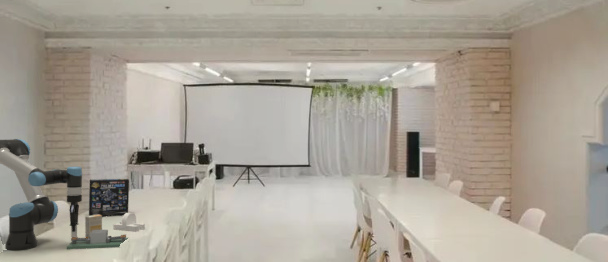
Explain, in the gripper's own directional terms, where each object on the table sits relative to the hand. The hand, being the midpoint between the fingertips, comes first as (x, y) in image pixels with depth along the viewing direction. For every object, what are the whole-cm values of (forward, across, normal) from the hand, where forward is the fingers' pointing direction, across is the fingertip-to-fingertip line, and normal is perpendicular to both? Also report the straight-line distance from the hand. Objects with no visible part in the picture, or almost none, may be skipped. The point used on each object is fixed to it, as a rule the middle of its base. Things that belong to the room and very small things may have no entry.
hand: (74, 236), depth 275 cm
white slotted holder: (+5, +39, -25) cm, 47 cm away
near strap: (+2, 0, -4) cm, 4 cm away
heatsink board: (+5, 0, -13) cm, 14 cm away
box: (+5, +89, -6) cm, 89 cm away
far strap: (+2, 0, -22) cm, 22 cm away
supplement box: (+5, +19, -7) cm, 21 cm away
